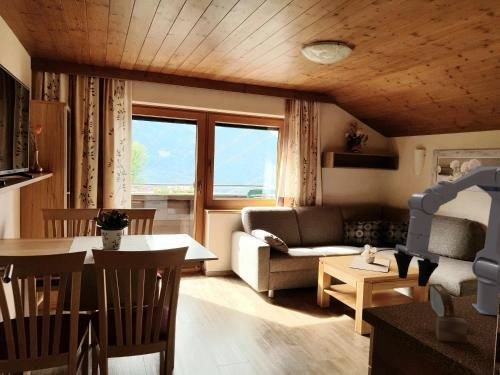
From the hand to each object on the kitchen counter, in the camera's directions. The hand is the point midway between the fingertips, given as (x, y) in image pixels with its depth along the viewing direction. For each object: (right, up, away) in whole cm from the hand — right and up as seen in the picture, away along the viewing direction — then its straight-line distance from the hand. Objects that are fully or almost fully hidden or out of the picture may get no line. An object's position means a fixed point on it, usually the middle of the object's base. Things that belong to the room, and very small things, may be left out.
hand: (411, 282), depth 106 cm
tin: (+10, -11, +4) cm, 15 cm away
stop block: (+5, -11, -12) cm, 17 cm away
